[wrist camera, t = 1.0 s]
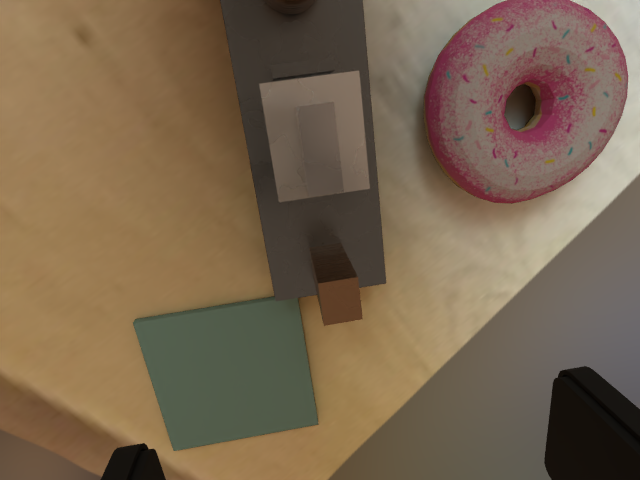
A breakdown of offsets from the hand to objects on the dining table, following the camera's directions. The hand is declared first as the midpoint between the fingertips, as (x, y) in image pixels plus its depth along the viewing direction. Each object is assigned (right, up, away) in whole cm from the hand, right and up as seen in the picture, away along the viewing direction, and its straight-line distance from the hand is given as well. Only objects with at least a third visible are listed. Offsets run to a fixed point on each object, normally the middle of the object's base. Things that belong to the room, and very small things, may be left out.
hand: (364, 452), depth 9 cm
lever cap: (-2, +12, +16) cm, 19 cm away
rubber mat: (-9, -6, +25) cm, 27 cm away
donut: (+12, +15, +21) cm, 28 cm away
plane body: (-2, +13, +19) cm, 23 cm away
